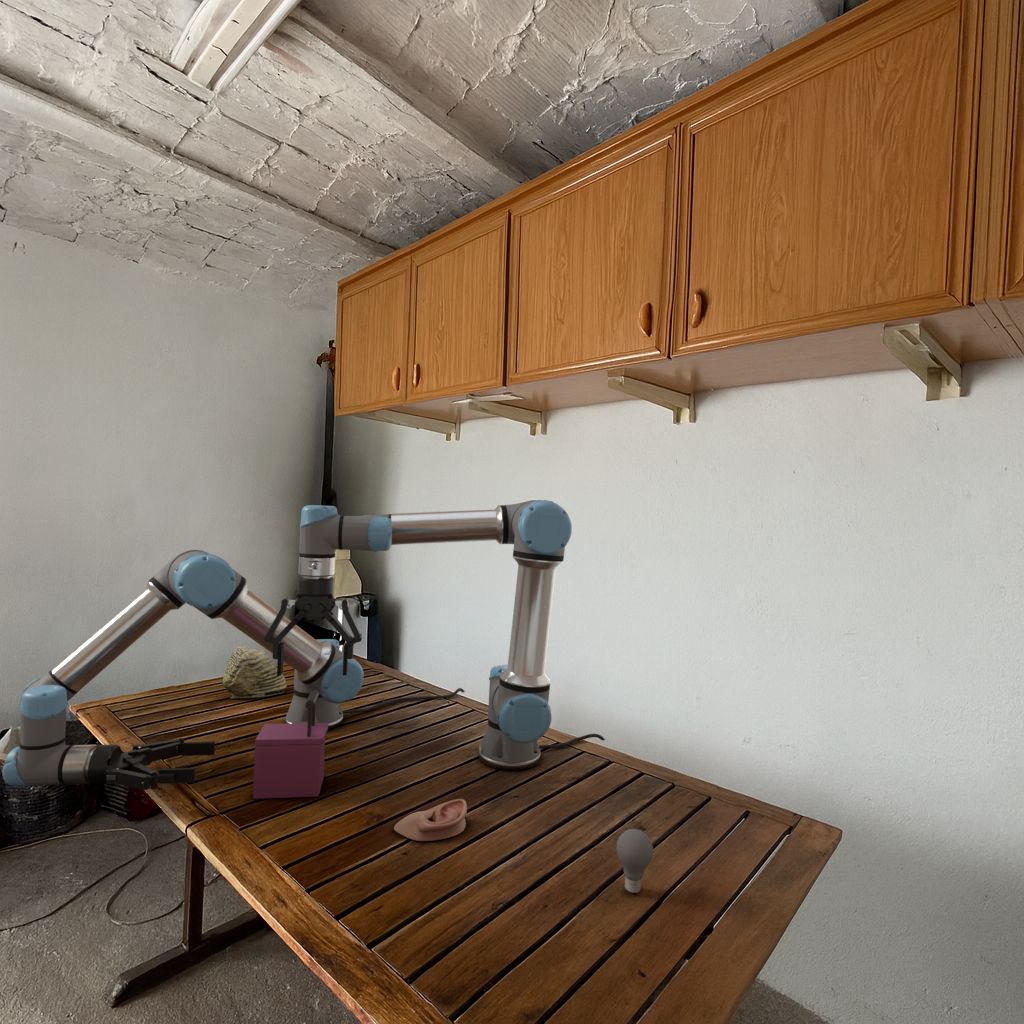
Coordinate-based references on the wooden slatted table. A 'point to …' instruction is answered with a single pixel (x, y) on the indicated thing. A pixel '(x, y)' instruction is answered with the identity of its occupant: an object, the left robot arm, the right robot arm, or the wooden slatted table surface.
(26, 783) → the left robot arm
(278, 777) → the chest
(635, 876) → the light bulb
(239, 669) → the fossil
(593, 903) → the wooden slatted table surface
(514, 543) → the right robot arm
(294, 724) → the lid
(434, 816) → the anatomical model
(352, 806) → the wooden slatted table surface
